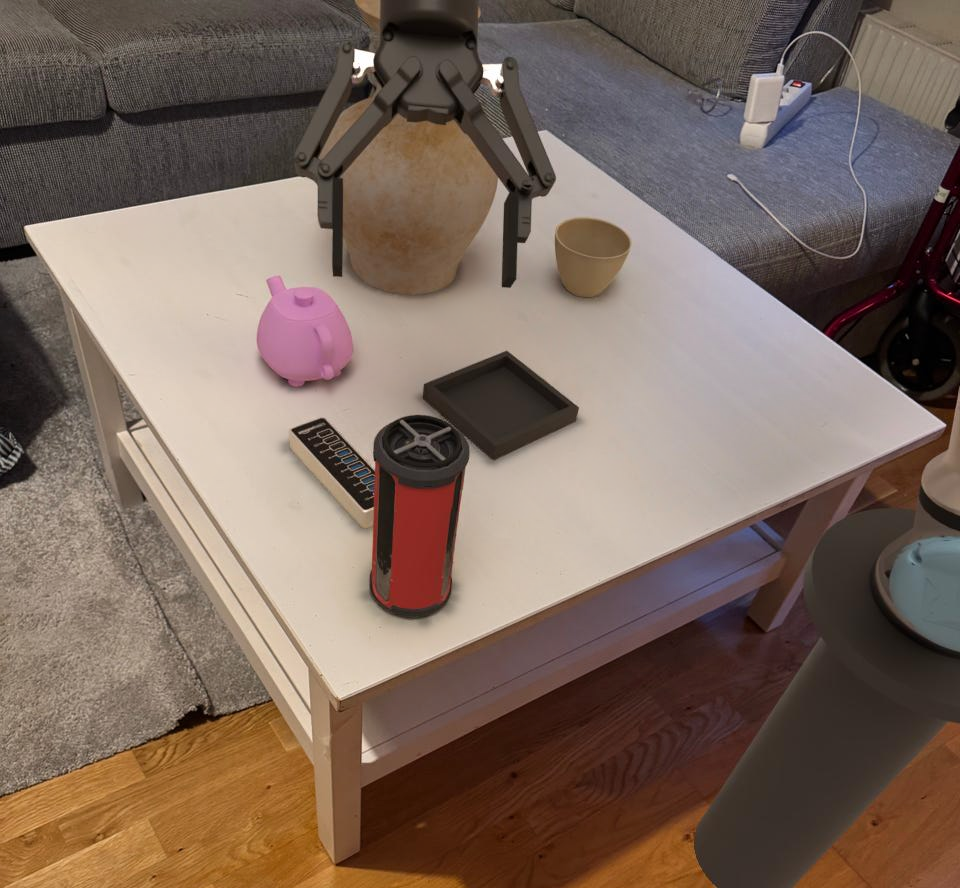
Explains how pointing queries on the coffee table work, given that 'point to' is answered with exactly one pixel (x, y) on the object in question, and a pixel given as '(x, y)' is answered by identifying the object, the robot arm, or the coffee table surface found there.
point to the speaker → (416, 513)
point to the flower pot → (589, 254)
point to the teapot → (303, 334)
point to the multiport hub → (336, 467)
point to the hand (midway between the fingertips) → (424, 278)
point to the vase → (411, 196)
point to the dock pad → (500, 404)
